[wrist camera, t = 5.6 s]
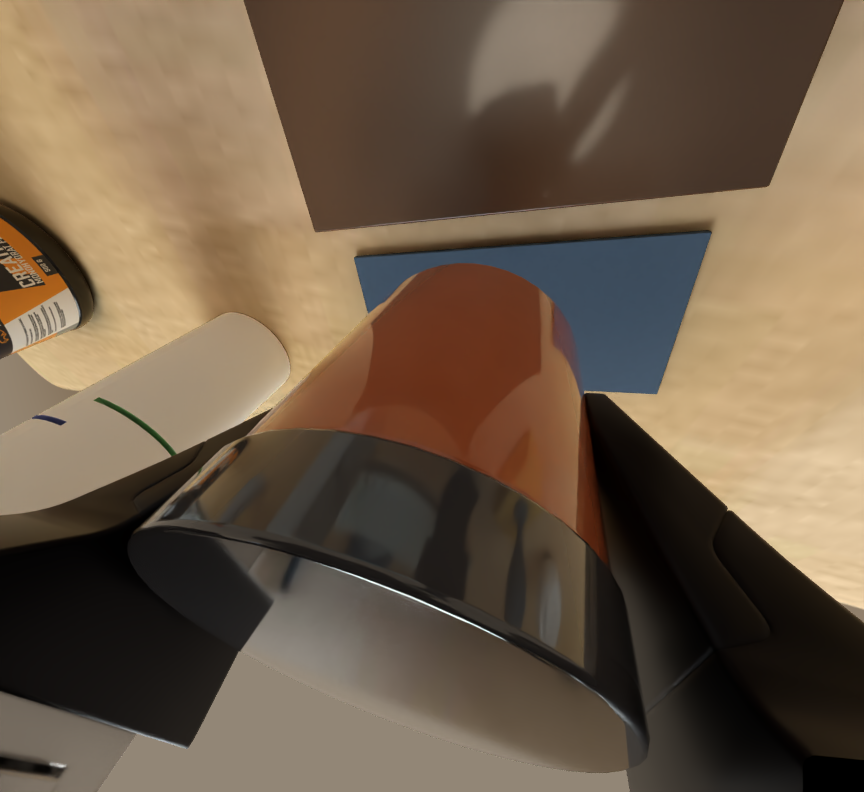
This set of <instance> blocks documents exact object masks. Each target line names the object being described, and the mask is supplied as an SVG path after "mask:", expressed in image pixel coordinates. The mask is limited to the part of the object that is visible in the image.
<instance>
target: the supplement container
mask: <svg viewBox="0 0 864 792" xmlns="http://www.w3.org/2000/svg"><path fill="white" fill-rule="evenodd" d="M93 310H94V305H93V299H92V295H91V292H90V289H89V287H88V284H87V282H86V280H85V279H84V277H83V275H82V273H81V272H80V270H79V269H78V267H77V266H76V265H75V263H74V262H73V261H72V259H71V258H70V257H69V256H68V255H67V253H66V252H65V251H64V250H63V249H62V248H61V247H60V246H59V245H58V244H57V243H56V242H55V241H54V240H53V239H52V238H51V237H50V236H49V235H48V234H47V233H46V232H44V231H43V230H42V229H41V228H40V227H38V226H37V225H36V224H34V223H33V222H32V221H30V220H29V219H27V218H26V217H24V216H22V215H21V214H19V213H18V212H16V211H14V210H12V209H10V208H8V207H6V206H4V205H2V204H0V359H1V358H4V357H6V356H9V355H11V354H14V353H16V352H19V351H21V350H23V349H26V348H28V347H31V346H33V345H36V344H38V343H41V342H43V341H46V340H48V339H51V338H53V337H55V336H58V335H60V334H63V333H65V332H68V331H71V330H75V329H78V328H80V327H82V326H84V325H85V324H87V323H88V322H89V321H90V319H91V318H92V315H93Z"/></svg>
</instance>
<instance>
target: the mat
mask: <svg viewBox="0 0 864 792" xmlns="http://www.w3.org/2000/svg"><path fill="white" fill-rule="evenodd" d="M711 234H712V232H711V231H709V230H705V231H692V232H678V233H664V234H651V235H637V236H623V237H610V238H596V239H582V240H569V241H555V242H541V243H528V244H514V245H501V246H487V247H473V248H460V249H446V250H432V251H419V252H405V253H391V254H378V255H364V256H356V257H354V260H355V264H356V268H357V272H358V276H359V280H360V284H361V288H362V292H363V295H364V299H365V303H366V307H367V311H368V314H369V313H370V312H371V311H372V310H373V309H374V308H375V307H376V306H377V305H378V304H379V303H380V302H381V301H382V300H383V299H384V298H385V297H386V296H387V295H388V294H389V293H390V292H391V291H392V290H394V289H395V288H396V287H397V286H398V285H399V284H401V283H402V282H403V281H405V280H406V279H408V278H410V277H411V276H413V275H415V274H417V273H419V272H422V271H424V270H426V269H429V268H433V267H437V266H440V265H447V264H455V263H475V264H482V265H488V266H493V267H496V268H500V269H503V270H506V271H509V272H511V273H513V274H516V275H518V276H520V277H522V278H524V279H526V280H527V281H529V282H530V283H532V284H533V285H535V286H537V287H538V288H539V289H540V290H541V291H543V292H544V293H545V294H546V295H547V296H548V297H550V299H551V300H552V301H553V302H554V303H555V304H556V305H557V306H558V308H559V309H560V310H561V312H562V313H563V315H564V316H565V318H566V319H567V321H568V323H569V325H570V327H571V330H572V332H573V334H574V337H575V341H576V345H577V349H578V355H579V362H580V368H581V375H582V381H583V388H584V391H604V392H624V393H645V394H657V392H658V389H659V386H660V383H661V380H662V377H663V375H664V372H665V369H666V366H667V363H668V360H669V357H670V354H671V351H672V348H673V345H674V342H675V339H676V336H677V333H678V330H679V328H680V325H681V322H682V319H683V316H684V313H685V310H686V307H687V304H688V301H689V298H690V295H691V292H692V289H693V286H694V283H695V281H696V278H697V275H698V272H699V269H700V266H701V263H702V260H703V257H704V254H705V251H706V248H707V245H708V242H709V239H710V236H711Z"/></svg>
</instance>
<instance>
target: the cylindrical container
mask: <svg viewBox="0 0 864 792" xmlns="http://www.w3.org/2000/svg"><path fill="white" fill-rule="evenodd" d="M289 374H290V362H289V358H288V356H287V353H286V351H285V349H284V347H283V346H282V344H281V343H280V341H279V340H278V339H277V337H276V336H275V335H274V334H273V333H272V332H271V331H270V330H269V329H268V328H266V327H265V326H264V325H263V324H261V323H260V322H258V321H257V320H255V319H253V318H251V317H249V316H247V315H244V314H240V313H235V312H228V313H223V314H222V315H220V316H218V317H216V318H214V319H212V320H211V321H209V322H207V323H205V324H203V325H201V326H199V327H198V328H196V329H194V330H192V331H190V332H188V333H186V334H185V335H183V336H181V337H179V338H177V339H175V340H174V341H172V342H170V343H168V344H166V345H164V346H162V347H161V348H159V349H157V350H155V351H153V352H151V353H150V354H148V355H146V356H144V357H142V358H140V359H139V360H137V361H135V362H133V363H131V364H129V365H128V366H126V367H124V368H122V369H120V370H118V371H117V372H115V373H113V374H111V375H109V376H107V377H106V378H104V379H102V380H100V381H98V382H97V383H95V384H93V385H91V386H89V387H87V388H86V389H84V390H82V391H80V392H78V393H76V394H75V395H73V396H71V397H69V398H67V399H66V400H64V401H62V402H60V403H58V404H56V405H55V406H53V407H51V408H49V409H47V410H45V411H44V412H42V413H40V414H38V415H36V416H35V417H33V418H32V419H29V420H27V421H25V422H23V423H21V424H20V425H18V426H16V427H14V428H12V429H10V430H9V431H7V432H5V433H3V434H1V435H0V515H10V514H19V513H26V512H32V511H37V510H41V509H45V508H49V507H53V506H56V505H59V504H62V503H65V502H67V501H70V500H72V499H75V498H77V497H80V496H82V495H84V494H87V493H89V492H91V491H94V490H96V489H98V488H101V487H103V486H105V485H108V484H110V483H112V482H115V481H117V480H119V479H122V478H124V477H126V476H129V475H131V474H133V473H136V472H138V471H140V470H142V469H145V468H147V467H149V466H152V465H154V464H156V463H158V462H161V461H163V460H165V459H167V458H169V457H172V456H174V455H176V454H178V453H180V452H182V451H184V450H187V449H189V448H191V447H193V446H195V445H197V444H199V443H201V442H203V441H205V442H206V441H207V440H208V439H210V438H212V437H214V436H216V435H218V434H220V433H222V432H224V431H226V430H228V429H230V428H232V427H235V426H237V425H239V424H241V423H242V422H243V421H244V420H245V419H246V418H247V417H248V416H250V415H251V414H252V413H253V412H254V411H255V410H256V409H257V408H258V407H259V406H260V405H261V404H262V403H263V402H265V401H266V400H267V399H268V398H269V397H270V396H271V395H272V394H273V393H274V392H275V391H276V390H277V389H278V388H280V387H281V386H282V385H283V384H284V383H285V382H286V381H287V379H288V378H289Z"/></svg>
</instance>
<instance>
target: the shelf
mask: <svg viewBox="0 0 864 792" xmlns="http://www.w3.org/2000/svg"><path fill="white" fill-rule="evenodd" d="M843 1H844V0H244V3H245V6H246V10H247V13H248V16H249V19H250V23H251V26H252V29H253V32H254V36H255V39H256V42H257V45H258V49H259V52H260V55H261V58H262V61H263V65H264V68H265V71H266V74H267V78H268V81H269V84H270V87H271V91H272V94H273V97H274V100H275V104H276V107H277V110H278V113H279V117H280V120H281V123H282V126H283V129H284V133H285V136H286V139H287V142H288V146H289V149H290V152H291V155H292V159H293V162H294V165H295V168H296V172H297V175H298V178H299V181H300V185H301V188H302V191H303V194H304V197H305V201H306V204H307V207H308V210H309V214H310V217H311V220H312V223H313V227H314V230H315V232H325V231H335V230H345V229H355V228H365V227H375V226H385V225H395V224H405V223H414V222H424V221H434V220H444V219H454V218H464V217H474V216H484V215H494V214H504V213H514V212H524V211H534V210H544V209H554V208H563V207H573V206H583V205H593V204H603V203H613V202H623V201H633V200H643V199H653V198H663V197H673V196H683V195H693V194H703V193H713V192H722V191H732V190H742V189H752V188H762V187H767V186H769V185H770V182H771V180H772V177H773V175H774V172H775V170H776V167H777V165H778V163H779V160H780V158H781V155H782V153H783V150H784V148H785V145H786V143H787V140H788V138H789V135H790V133H791V130H792V128H793V125H794V123H795V120H796V118H797V115H798V113H799V110H800V108H801V106H802V103H803V101H804V98H805V96H806V93H807V91H808V88H809V86H810V83H811V81H812V78H813V76H814V73H815V71H816V68H817V66H818V63H819V61H820V58H821V56H822V53H823V51H824V49H825V46H826V44H827V41H828V39H829V36H830V34H831V31H832V29H833V26H834V24H835V21H836V19H837V16H838V14H839V11H840V9H841V6H842V4H843Z"/></svg>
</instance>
